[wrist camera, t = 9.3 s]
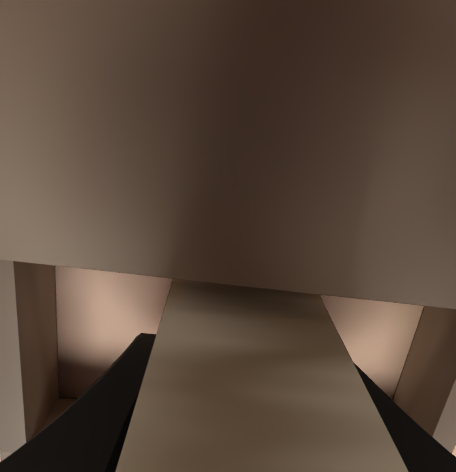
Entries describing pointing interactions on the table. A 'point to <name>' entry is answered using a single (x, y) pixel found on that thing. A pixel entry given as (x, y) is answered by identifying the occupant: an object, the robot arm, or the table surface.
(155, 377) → the birch block
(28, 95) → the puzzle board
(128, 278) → the table surface
